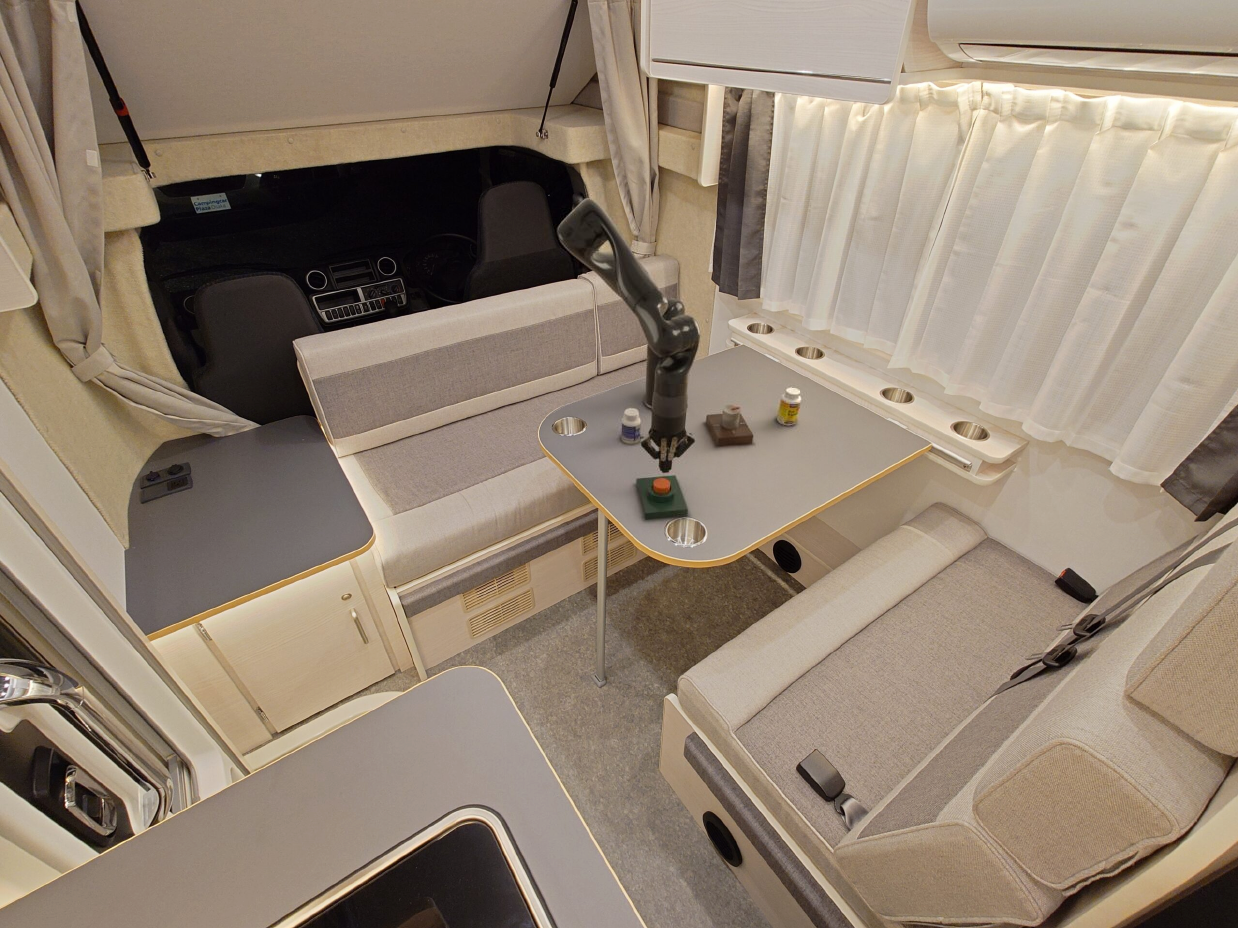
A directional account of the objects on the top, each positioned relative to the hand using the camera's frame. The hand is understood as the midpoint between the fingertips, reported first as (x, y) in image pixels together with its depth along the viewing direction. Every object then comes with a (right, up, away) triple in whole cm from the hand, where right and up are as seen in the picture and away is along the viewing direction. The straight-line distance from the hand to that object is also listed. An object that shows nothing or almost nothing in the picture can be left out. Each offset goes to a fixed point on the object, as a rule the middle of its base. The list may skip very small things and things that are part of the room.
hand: (664, 470), depth 131 cm
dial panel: (+20, +10, +28) cm, 36 cm away
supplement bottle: (+39, +14, +34) cm, 53 cm away
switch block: (-1, -7, +5) cm, 9 cm away
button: (-1, -4, +2) cm, 5 cm away
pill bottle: (-7, +9, +26) cm, 28 cm away
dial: (+20, +13, +26) cm, 36 cm away
